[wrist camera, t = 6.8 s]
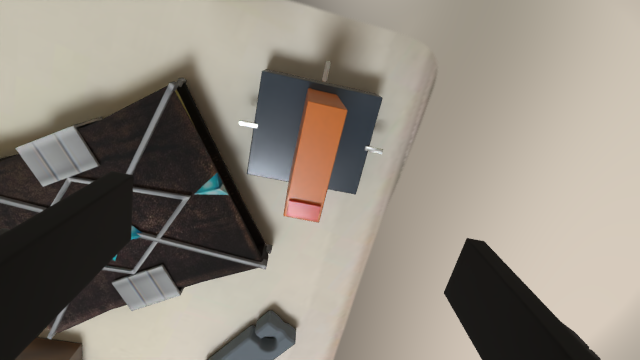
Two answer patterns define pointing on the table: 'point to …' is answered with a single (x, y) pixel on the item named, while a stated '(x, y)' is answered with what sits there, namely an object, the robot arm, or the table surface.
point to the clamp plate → (284, 123)
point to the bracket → (260, 341)
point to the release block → (51, 350)
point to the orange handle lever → (314, 155)
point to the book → (142, 201)
